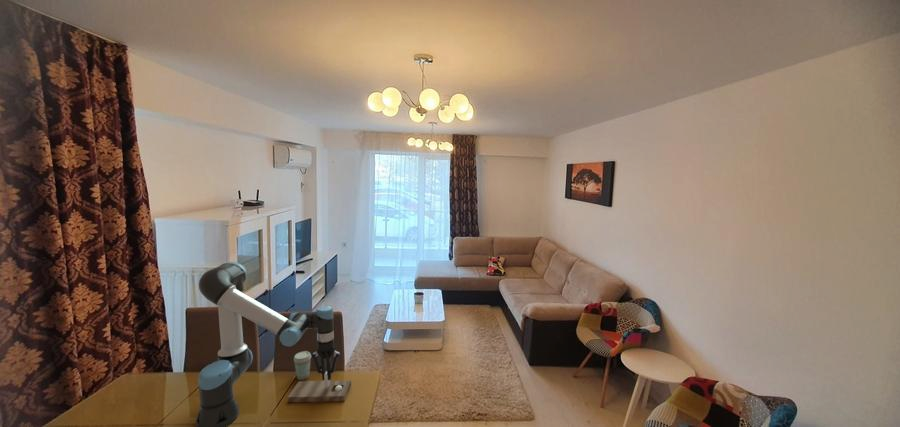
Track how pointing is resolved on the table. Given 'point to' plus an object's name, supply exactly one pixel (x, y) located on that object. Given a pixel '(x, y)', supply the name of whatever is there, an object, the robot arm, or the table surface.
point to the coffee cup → (302, 364)
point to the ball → (338, 388)
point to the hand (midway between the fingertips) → (327, 385)
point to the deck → (319, 391)
